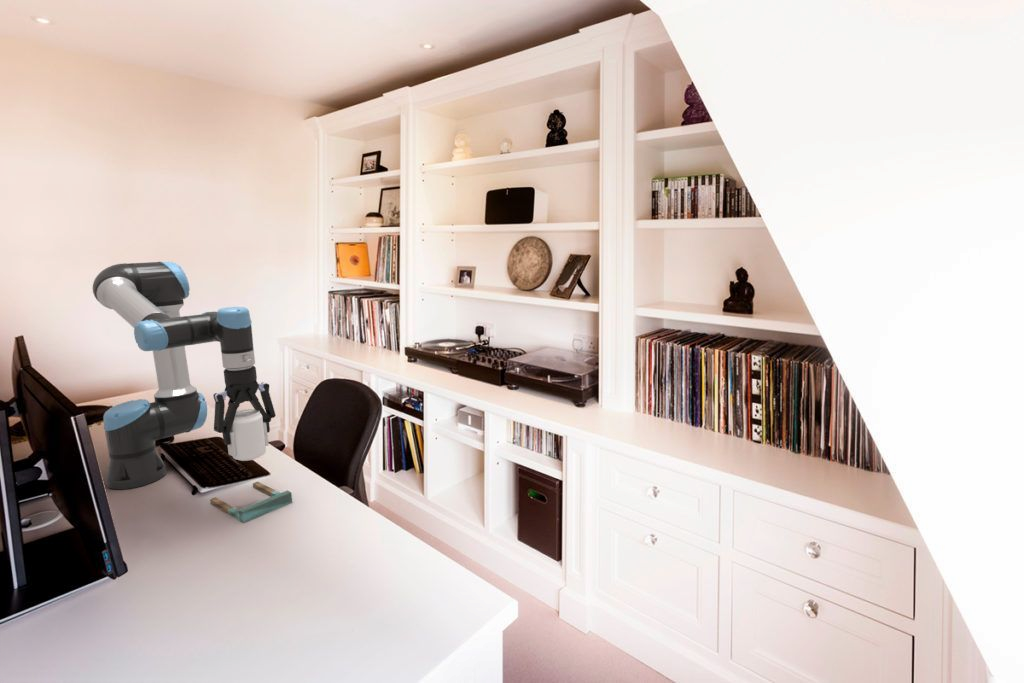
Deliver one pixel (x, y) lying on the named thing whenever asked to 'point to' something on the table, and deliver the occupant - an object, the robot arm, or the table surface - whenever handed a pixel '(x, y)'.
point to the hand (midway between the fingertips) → (248, 449)
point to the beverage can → (248, 434)
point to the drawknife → (256, 504)
